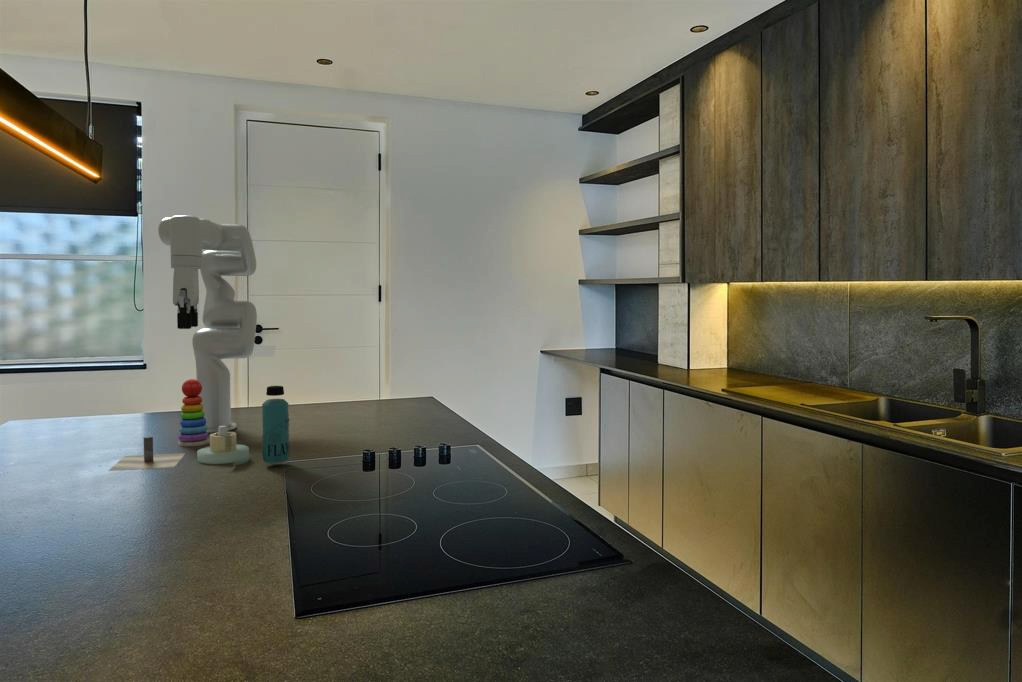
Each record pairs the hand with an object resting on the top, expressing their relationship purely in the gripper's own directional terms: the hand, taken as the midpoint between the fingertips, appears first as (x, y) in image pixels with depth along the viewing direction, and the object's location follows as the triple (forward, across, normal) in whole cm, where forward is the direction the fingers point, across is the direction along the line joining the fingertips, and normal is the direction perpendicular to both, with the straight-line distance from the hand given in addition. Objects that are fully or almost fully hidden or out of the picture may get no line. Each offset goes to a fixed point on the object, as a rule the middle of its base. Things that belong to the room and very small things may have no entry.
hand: (188, 327), depth 174 cm
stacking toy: (+34, -5, 0) cm, 34 cm away
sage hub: (+33, +14, +10) cm, 37 cm away
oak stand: (+33, +14, -7) cm, 37 cm away
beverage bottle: (+34, +21, +23) cm, 46 cm away
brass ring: (+30, +14, +10) cm, 35 cm away
